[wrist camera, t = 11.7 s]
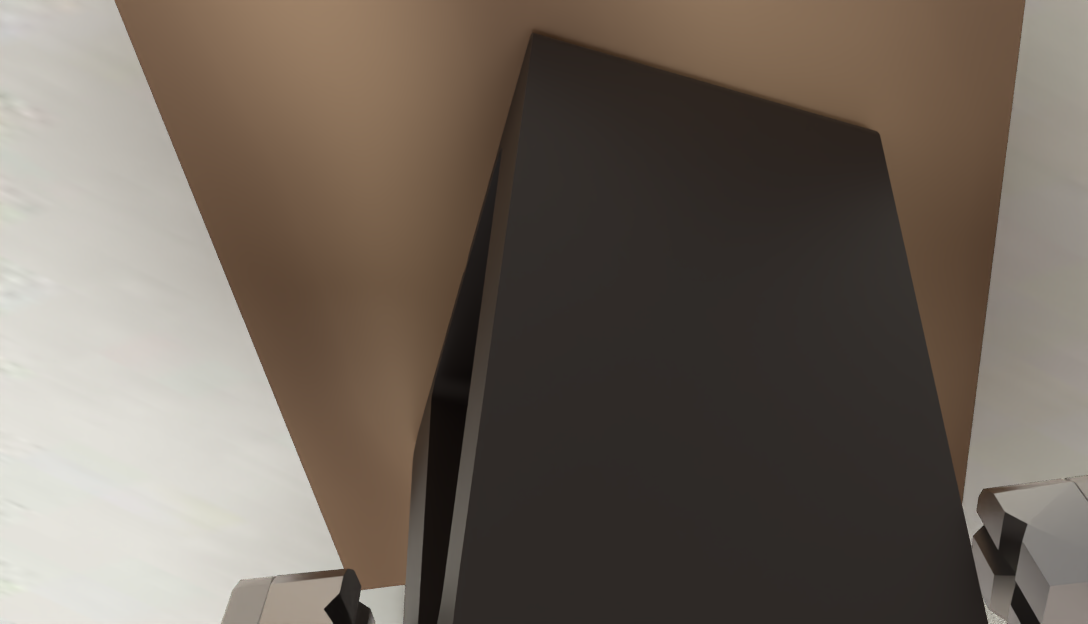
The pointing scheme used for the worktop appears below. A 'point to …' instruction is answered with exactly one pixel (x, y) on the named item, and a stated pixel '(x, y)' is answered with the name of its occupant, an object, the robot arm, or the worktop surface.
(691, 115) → the phone stand
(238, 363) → the worktop surface
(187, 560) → the worktop surface
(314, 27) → the walnut block
